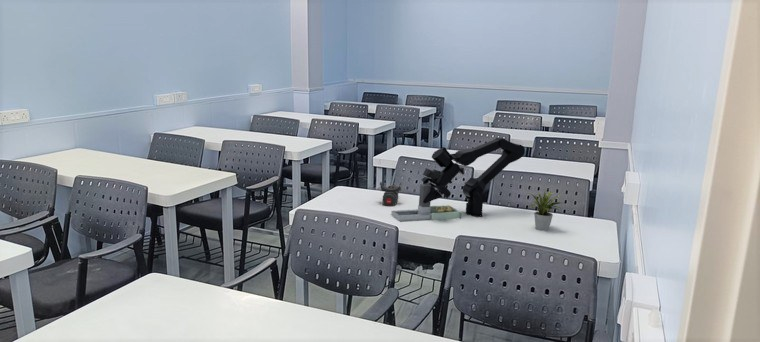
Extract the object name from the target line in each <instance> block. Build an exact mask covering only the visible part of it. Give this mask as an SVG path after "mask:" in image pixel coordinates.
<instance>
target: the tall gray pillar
mask: <svg viewBox="0 0 760 342" xmlns="http://www.w3.org/2000/svg"><path fill="white" fill-rule="evenodd" d="M430 191H431V185H429V184H424V183H421V184H420V185H419V197H418V198H419V199H418V205H417V209H418V214H430V210H431V207H430V206H431V202H432V201H430V202H428V203H423V201H424V199H425V198H426V197H427V195H428V194H429V193H430Z"/></svg>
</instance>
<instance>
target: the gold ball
mask: <svg viewBox="0 0 760 342" xmlns="http://www.w3.org/2000/svg"><path fill="white" fill-rule="evenodd" d="M452 207H453V206H451V205H450V206H446V207H445V208H444V210H445V212H453V208H454V207H453V208H452Z"/></svg>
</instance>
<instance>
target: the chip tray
mask: <svg viewBox="0 0 760 342" xmlns="http://www.w3.org/2000/svg"><path fill="white" fill-rule="evenodd" d="M438 206H439V205H430V207H431V210H430V213H432V212H435V209H436V208H437V207H438ZM440 206H441V207H443V208H445V207H446V206H451V205H449V204H446V205H445V204H443V205H440ZM451 207H452V208H453V212H443V213H432V215H431V219H432V220H431V221H438V220H439V219H441V220H452V219H453V220H454V219H455V218H457V219H461V218H462V212H461V211H460V210H458V209H457V208H454V207H453V206H451Z"/></svg>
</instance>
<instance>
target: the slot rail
mask: <svg viewBox="0 0 760 342" xmlns="http://www.w3.org/2000/svg"><path fill="white" fill-rule="evenodd" d="M432 213H435V212H432ZM432 213H430V214H418V208H417V209H403V210H401V209H400V210H391V214H390V215H391V216H392V217H393V218H394V219H396V220H397V221H398V222H400V223H405V222H406V223H407V222H421V221H422V222H423V221H433V220H432V219H431V215H432ZM455 219H456V220H457V219H458V218H455ZM439 220H442V219H439Z"/></svg>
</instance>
